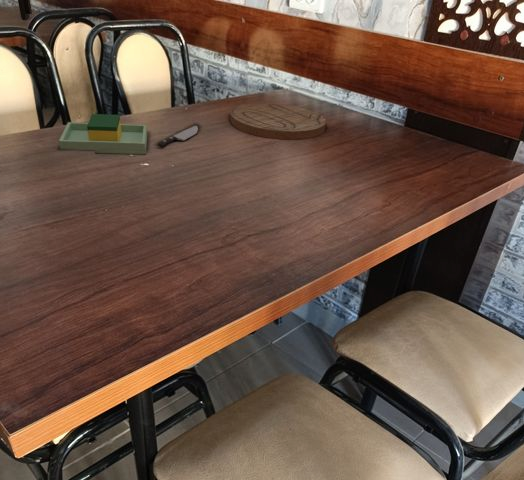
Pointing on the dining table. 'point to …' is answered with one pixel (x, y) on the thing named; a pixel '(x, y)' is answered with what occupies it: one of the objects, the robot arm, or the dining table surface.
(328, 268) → the dining table surface
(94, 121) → the sponge
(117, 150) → the tray
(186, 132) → the chef's knife
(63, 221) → the dining table surface
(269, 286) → the dining table surface
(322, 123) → the trivet
